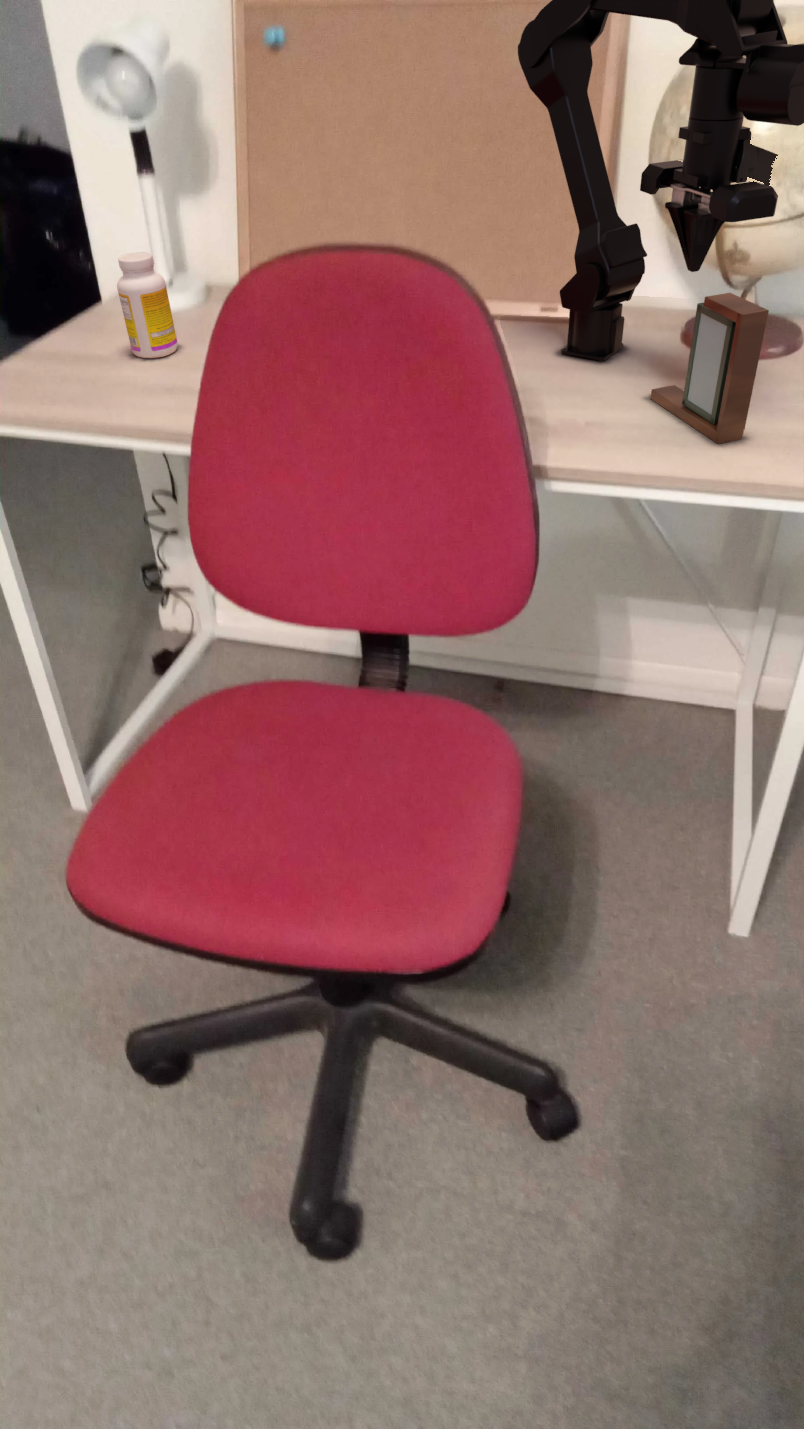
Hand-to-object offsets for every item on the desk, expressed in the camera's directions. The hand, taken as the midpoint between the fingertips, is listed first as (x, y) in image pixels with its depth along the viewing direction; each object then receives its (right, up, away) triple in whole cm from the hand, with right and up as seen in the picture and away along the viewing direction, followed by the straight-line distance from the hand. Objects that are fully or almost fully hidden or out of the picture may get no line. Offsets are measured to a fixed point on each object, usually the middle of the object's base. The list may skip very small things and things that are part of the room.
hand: (693, 270), depth 111 cm
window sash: (0, -18, -3) cm, 18 cm away
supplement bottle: (-71, 0, +25) cm, 75 cm away
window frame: (0, -18, -1) cm, 18 cm away
